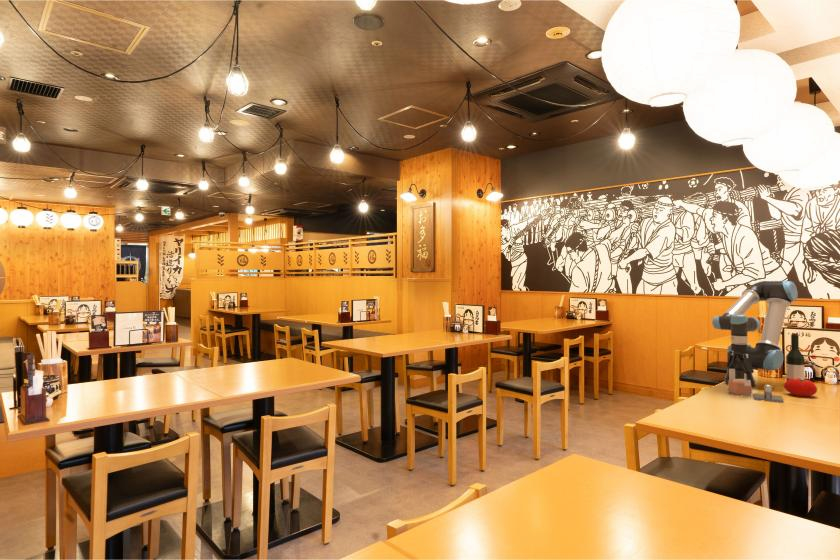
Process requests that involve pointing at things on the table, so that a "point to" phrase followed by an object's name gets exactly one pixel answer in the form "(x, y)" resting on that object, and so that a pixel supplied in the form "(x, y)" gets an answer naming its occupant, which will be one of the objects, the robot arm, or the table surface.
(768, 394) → the grey peg stand
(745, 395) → the mat
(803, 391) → the tomato
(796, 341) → the wine bottle
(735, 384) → the orange block
